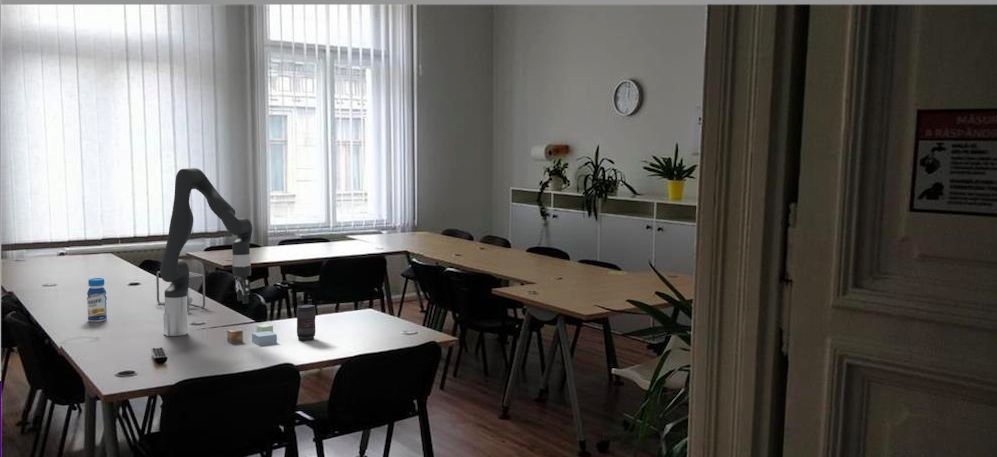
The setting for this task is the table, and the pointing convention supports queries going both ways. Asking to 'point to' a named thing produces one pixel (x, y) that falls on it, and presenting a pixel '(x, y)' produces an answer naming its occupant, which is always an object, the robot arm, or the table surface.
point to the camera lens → (306, 322)
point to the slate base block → (264, 338)
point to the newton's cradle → (187, 291)
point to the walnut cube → (234, 335)
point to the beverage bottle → (96, 300)
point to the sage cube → (264, 328)
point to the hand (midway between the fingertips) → (243, 302)
